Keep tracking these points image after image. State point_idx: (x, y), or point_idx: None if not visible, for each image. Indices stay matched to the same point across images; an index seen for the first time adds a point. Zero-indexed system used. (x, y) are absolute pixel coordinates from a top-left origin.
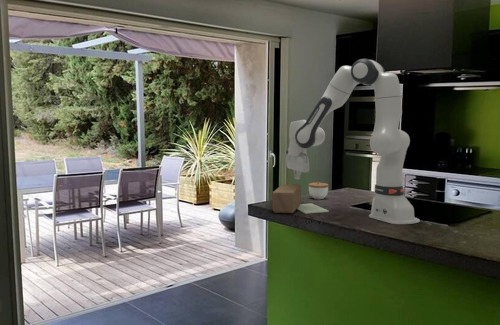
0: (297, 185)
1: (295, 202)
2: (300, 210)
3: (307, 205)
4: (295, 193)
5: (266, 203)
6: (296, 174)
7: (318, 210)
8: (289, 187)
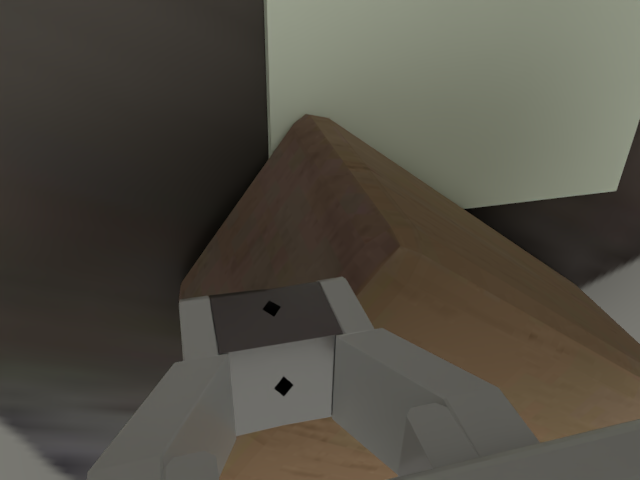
0: (473, 316)
1: (574, 294)
2: (521, 200)
3: (376, 42)
4: (630, 352)
5: (80, 406)
6: (220, 430)
7: (630, 36)
8: None
